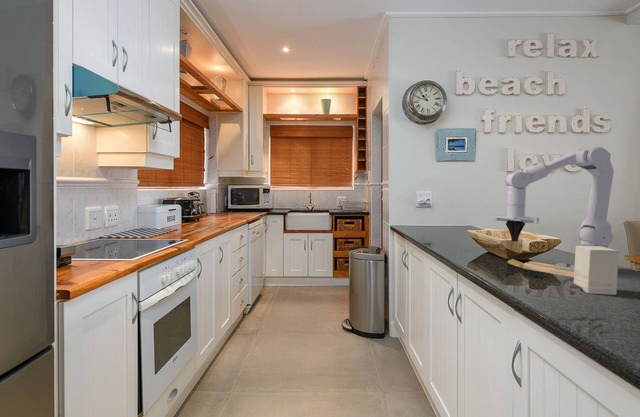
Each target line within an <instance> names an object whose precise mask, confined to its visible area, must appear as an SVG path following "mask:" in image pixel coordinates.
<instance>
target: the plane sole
mask: <svg viewBox="0 0 640 417" xmlns="http://www.w3.org/2000/svg"><path fill="white" fill-rule="evenodd" d="M554 265H555V264H549V263H544V262H537V261H536V262H535V261H530V260H529V261H528V262H527V261H526V262H525V264H523V265H521V264H520V267H519V268H521V269H524V270H531V271H535V272H542V273H548V274H554V275H561V276H566V277H570V278H571V277H572V278H574V271H570V270H564V269H557V268H554Z"/></svg>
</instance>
